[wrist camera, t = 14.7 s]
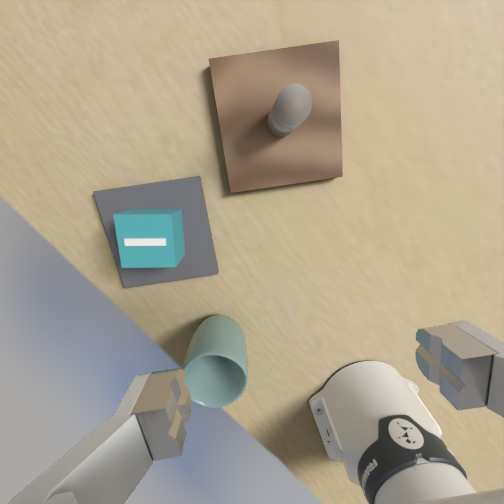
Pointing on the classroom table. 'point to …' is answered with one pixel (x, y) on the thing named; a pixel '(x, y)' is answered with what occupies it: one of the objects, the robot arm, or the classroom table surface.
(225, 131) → the post base
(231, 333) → the cup
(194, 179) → the mat
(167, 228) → the teal cube
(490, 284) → the classroom table surface
